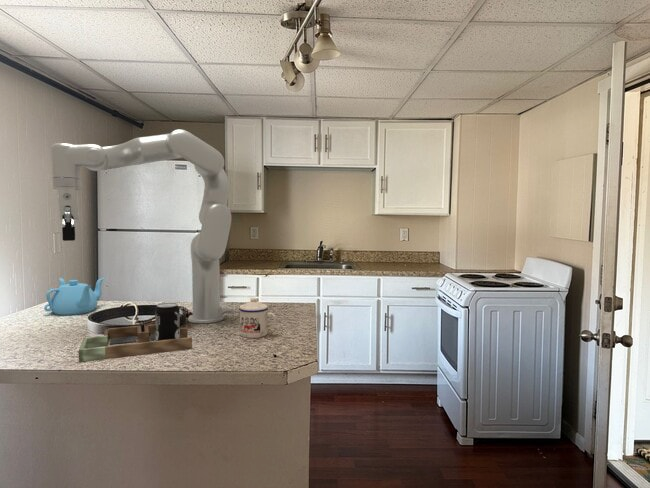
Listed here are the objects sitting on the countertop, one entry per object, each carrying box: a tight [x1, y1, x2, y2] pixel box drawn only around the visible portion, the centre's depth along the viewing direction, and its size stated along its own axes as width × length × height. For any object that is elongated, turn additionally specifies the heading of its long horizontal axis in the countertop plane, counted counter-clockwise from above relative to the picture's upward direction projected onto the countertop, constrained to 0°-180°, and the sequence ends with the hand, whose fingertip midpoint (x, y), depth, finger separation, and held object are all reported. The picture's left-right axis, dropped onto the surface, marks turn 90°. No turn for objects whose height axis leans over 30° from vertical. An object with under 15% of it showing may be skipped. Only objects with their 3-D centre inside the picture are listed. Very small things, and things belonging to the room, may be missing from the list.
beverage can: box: [154, 301, 181, 341], centre depth 122 cm, size 7×7×12 cm
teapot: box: [43, 277, 106, 316], centre depth 163 cm, size 17×19×12 cm
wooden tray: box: [78, 323, 193, 363], centre depth 123 cm, size 28×20×3 cm
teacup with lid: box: [238, 297, 277, 339], centre depth 134 cm, size 12×9×12 cm
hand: (69, 239), depth 131 cm, fingers open, 9 cm apart
